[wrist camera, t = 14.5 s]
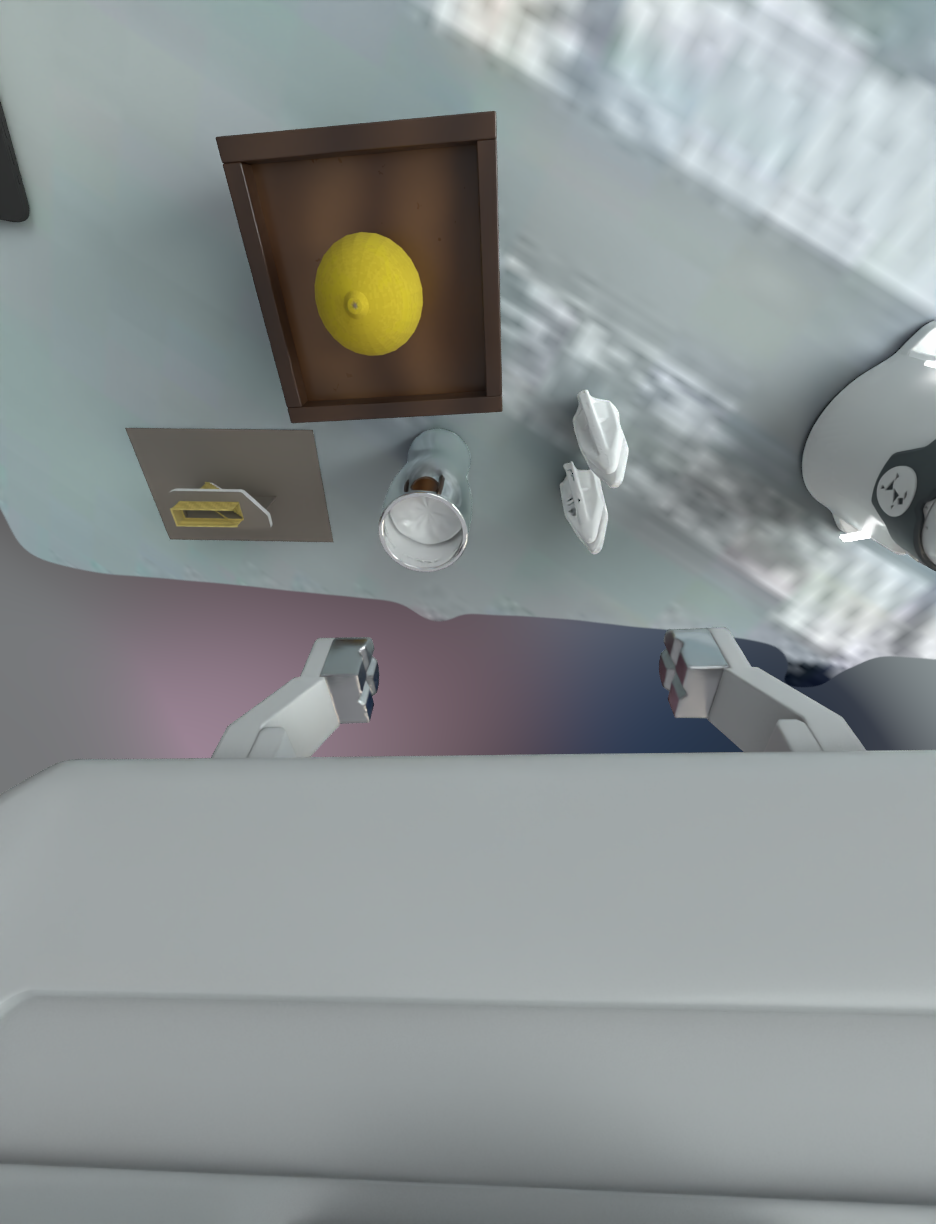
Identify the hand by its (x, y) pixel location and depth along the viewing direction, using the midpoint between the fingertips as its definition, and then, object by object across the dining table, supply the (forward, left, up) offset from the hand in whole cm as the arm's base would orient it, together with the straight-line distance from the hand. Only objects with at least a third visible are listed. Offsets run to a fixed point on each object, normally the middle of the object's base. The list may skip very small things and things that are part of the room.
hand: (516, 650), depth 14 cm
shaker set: (-8, +8, -37) cm, 39 cm away
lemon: (+7, -7, -25) cm, 27 cm away
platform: (+27, +10, -37) cm, 47 cm away
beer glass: (+6, +8, -37) cm, 39 cm away
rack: (+7, -7, -37) cm, 38 cm away
